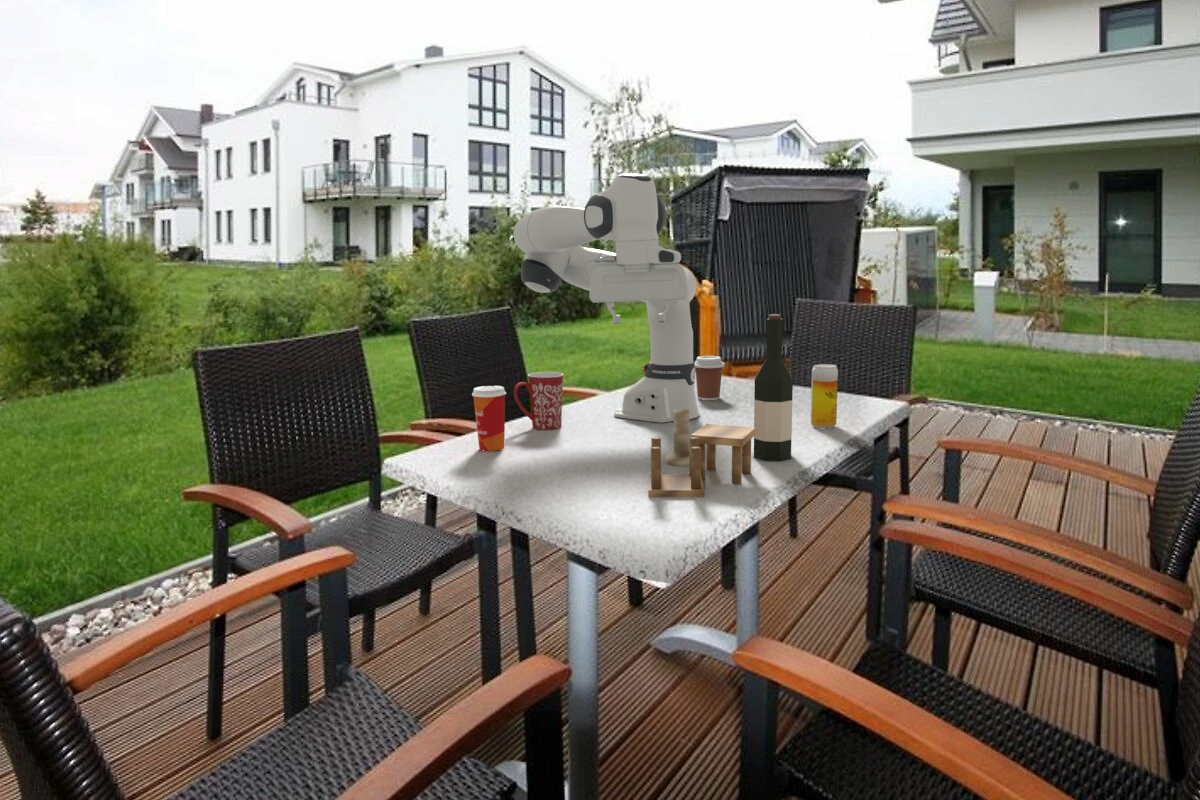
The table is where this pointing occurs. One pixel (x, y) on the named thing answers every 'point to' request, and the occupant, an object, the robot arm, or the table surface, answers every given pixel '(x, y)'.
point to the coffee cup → (708, 376)
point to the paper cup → (490, 416)
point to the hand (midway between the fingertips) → (639, 323)
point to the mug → (543, 399)
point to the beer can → (824, 395)
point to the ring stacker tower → (680, 440)
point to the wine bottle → (773, 400)
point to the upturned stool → (676, 483)
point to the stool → (728, 437)
